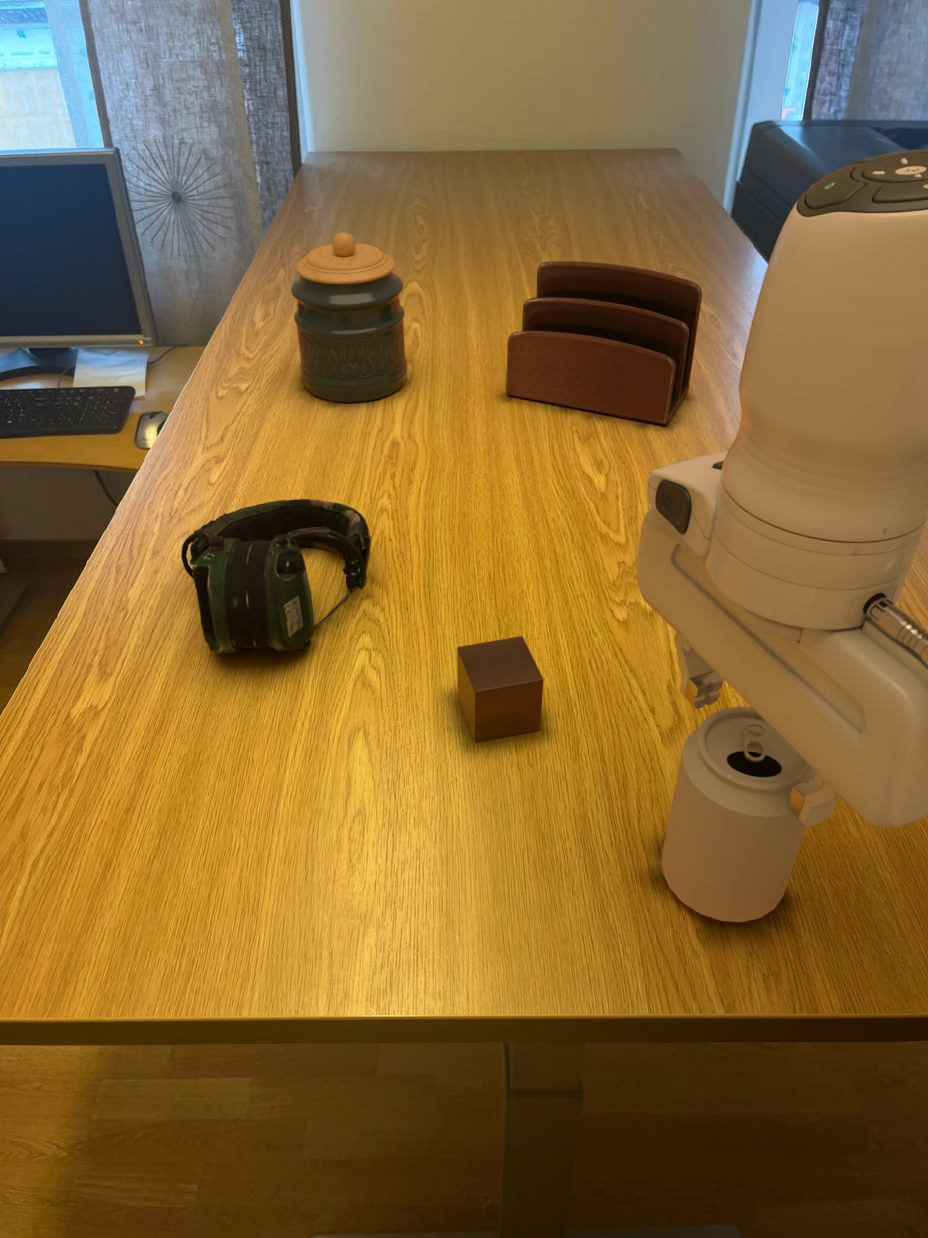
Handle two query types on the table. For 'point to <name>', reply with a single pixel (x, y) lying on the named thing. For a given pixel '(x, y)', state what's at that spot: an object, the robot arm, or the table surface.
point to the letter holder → (606, 340)
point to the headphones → (270, 570)
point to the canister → (349, 322)
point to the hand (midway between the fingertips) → (749, 752)
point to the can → (734, 817)
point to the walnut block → (499, 688)
